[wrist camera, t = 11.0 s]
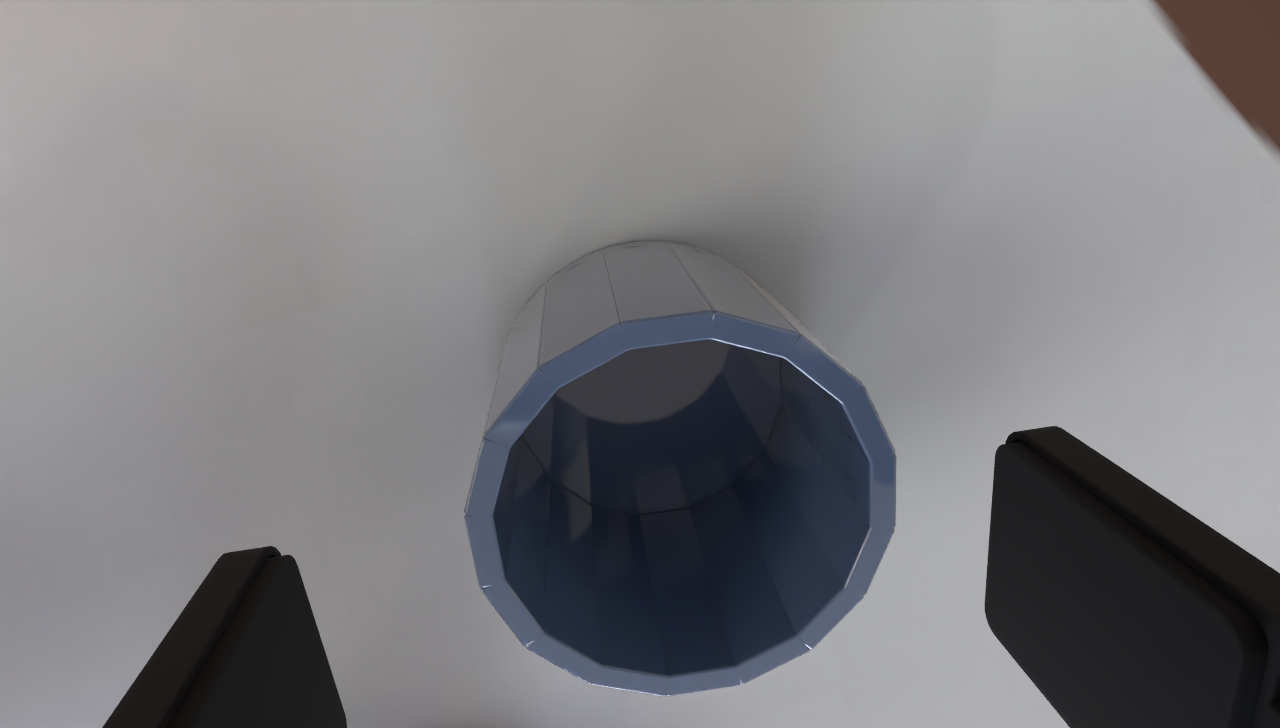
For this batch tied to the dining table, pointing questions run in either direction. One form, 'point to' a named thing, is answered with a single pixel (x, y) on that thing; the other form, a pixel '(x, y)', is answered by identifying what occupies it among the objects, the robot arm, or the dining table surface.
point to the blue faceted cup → (674, 476)
